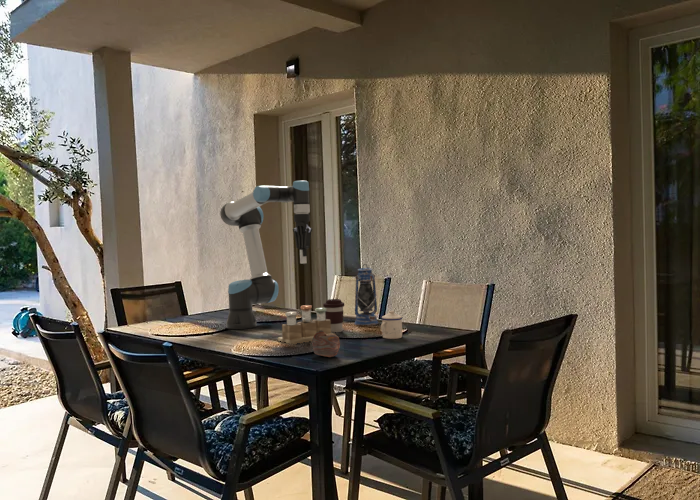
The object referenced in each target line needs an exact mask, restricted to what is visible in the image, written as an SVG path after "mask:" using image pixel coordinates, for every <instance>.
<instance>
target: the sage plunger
mask: <svg viewBox="0 0 700 500" xmlns="http://www.w3.org/2000/svg"><path fill="white" fill-rule="evenodd" d="M314 311H315V312H316V319H317V321H325V320H326V315H325V311H326V308H325V307H317V308H315V309H314Z"/></svg>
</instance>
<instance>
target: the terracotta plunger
mask: <svg viewBox="0 0 700 500" xmlns="http://www.w3.org/2000/svg"><path fill="white" fill-rule="evenodd" d="M312 306H313V305H309V304H305V305H301V306H300V310H301V322H302V323H311V321H312V308H313V307H312Z"/></svg>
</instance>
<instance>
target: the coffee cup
mask: <svg viewBox="0 0 700 500" xmlns="http://www.w3.org/2000/svg"><path fill="white" fill-rule="evenodd" d="M322 305H323V307H322V308H326V311H325V315H326V319H328V320H331V333H334V334H336V333H341V332H342V331H343V323H344V307H345V302H343V301H342V300H341V299H340V298H329V299H326V301H325V302H323V304H322ZM335 332H336V333H335Z"/></svg>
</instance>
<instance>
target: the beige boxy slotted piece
mask: <svg viewBox="0 0 700 500" xmlns="http://www.w3.org/2000/svg"><path fill="white" fill-rule="evenodd" d="M320 330H323V331H324V333H326V334H327V335H331V334H334V335H336V336H337V333H331V320H328V319H326V320H325V321H317V318H316V319H311V323H302V321H296V325H292V326H288V325H287V323H285V324H284V323H282V324H281V335H282V336H279V337H277V341H278V342H280V341H281V343H284V342H286V343H285V344H288V343H290V344H289V345H293V344H294V345H298V344H297V343H300V344H304V343H303V342H305V343H309V341H311V342H312V339H313V337H314V335H315V334H316V333H317V332H319V331H320Z"/></svg>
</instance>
